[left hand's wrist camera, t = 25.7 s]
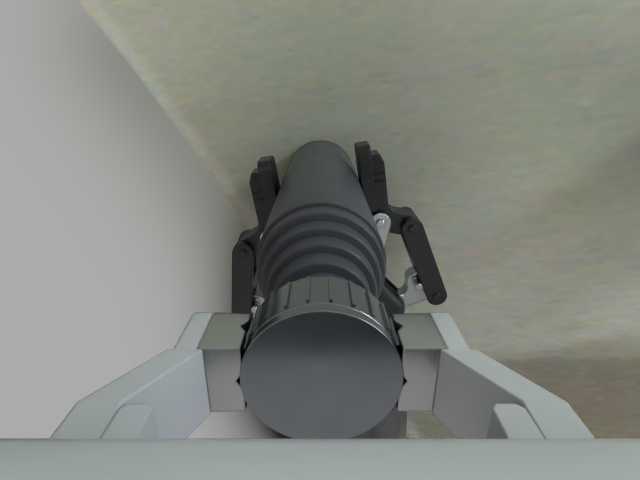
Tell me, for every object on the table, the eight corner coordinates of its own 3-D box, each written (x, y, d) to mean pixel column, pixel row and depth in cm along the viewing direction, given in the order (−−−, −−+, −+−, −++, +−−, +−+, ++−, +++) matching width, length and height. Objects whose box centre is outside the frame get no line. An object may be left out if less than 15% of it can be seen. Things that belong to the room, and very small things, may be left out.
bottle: (350, 136, 28) (420, 262, 9) (355, 201, 30) (423, 429, 10) (283, 144, 28) (201, 285, 9) (292, 208, 30) (241, 444, 10)
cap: (346, 414, 11) (350, 465, 10) (224, 360, 11) (208, 406, 9) (423, 316, 10) (440, 356, 9) (291, 247, 9) (286, 278, 8)
